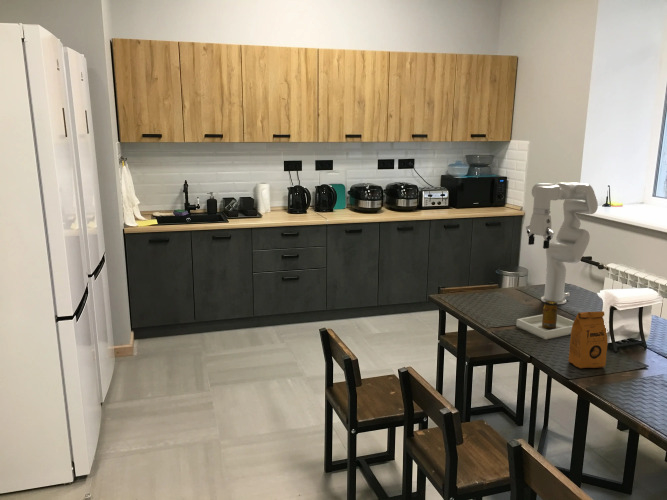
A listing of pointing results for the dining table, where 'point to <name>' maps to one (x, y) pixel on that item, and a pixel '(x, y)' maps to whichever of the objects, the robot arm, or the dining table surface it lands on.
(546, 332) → the tray
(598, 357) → the coffee package
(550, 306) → the condiment
